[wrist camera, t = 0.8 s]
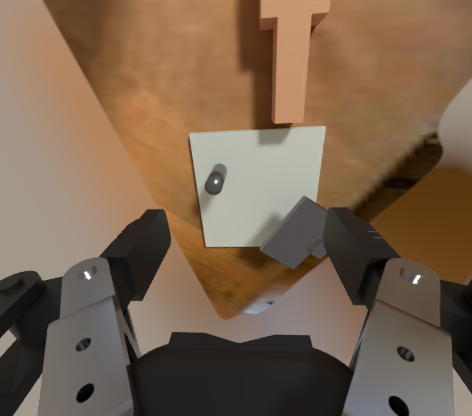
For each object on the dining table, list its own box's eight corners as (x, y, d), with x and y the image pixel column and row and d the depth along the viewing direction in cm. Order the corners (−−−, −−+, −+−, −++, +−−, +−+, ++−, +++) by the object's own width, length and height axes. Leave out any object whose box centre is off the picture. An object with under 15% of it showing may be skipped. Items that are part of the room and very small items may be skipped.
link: (307, 118, 26) (317, 121, 23) (259, 120, 27) (261, 124, 23) (323, -58, 20) (340, -92, 16) (258, -50, 20) (260, -82, 16)
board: (191, 132, 28) (189, 133, 27) (323, 125, 27) (325, 126, 26) (207, 243, 36) (206, 247, 35) (308, 242, 35) (310, 245, 34)
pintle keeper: (212, 161, 30) (203, 178, 23) (329, 157, 28) (352, 173, 22) (221, 239, 36) (215, 269, 29) (317, 238, 35) (332, 269, 28)
